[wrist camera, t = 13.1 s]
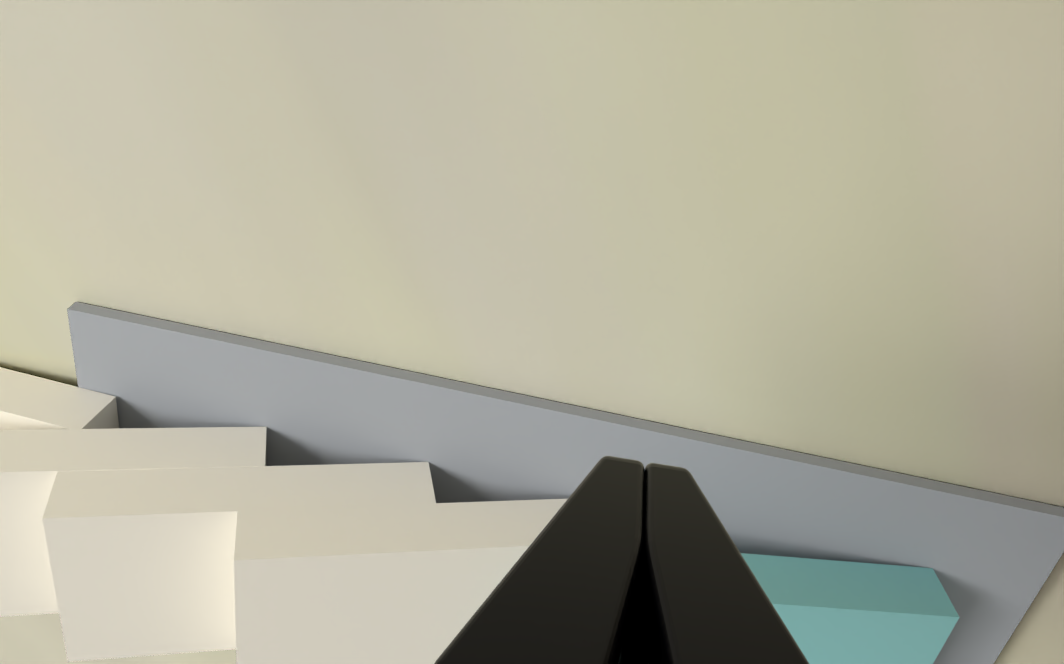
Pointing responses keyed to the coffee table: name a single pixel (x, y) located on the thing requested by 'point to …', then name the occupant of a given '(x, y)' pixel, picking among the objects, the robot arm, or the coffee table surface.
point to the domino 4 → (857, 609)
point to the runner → (574, 459)
